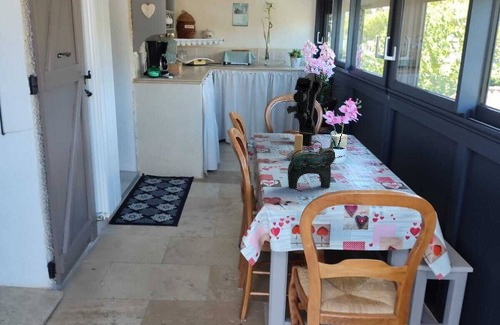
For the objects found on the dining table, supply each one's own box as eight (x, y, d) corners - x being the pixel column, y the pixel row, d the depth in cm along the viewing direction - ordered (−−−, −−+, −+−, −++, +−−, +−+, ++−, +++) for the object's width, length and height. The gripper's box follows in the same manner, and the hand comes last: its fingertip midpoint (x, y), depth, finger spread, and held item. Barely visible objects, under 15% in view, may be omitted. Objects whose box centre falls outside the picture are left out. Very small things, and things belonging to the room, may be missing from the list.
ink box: (338, 154, 246) (340, 133, 243) (346, 156, 242) (348, 134, 239) (328, 156, 241) (330, 134, 237) (335, 158, 237) (337, 136, 234)
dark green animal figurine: (330, 184, 195) (333, 139, 190) (335, 189, 189) (339, 143, 184) (285, 185, 192) (288, 139, 187) (289, 190, 186) (292, 143, 181)
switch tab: (294, 155, 233) (295, 134, 230) (301, 156, 232) (302, 134, 229) (293, 156, 231) (295, 135, 228) (300, 157, 230) (302, 135, 227)
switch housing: (291, 152, 245) (292, 146, 244) (310, 154, 243) (310, 148, 242) (286, 160, 230) (287, 154, 229) (306, 162, 228) (306, 156, 227)
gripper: (290, 98, 253) (288, 125, 257) (285, 101, 236) (283, 131, 240) (310, 99, 251) (308, 126, 255) (306, 103, 233) (304, 132, 237)
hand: (300, 129), depth 247 cm, fingers closed
